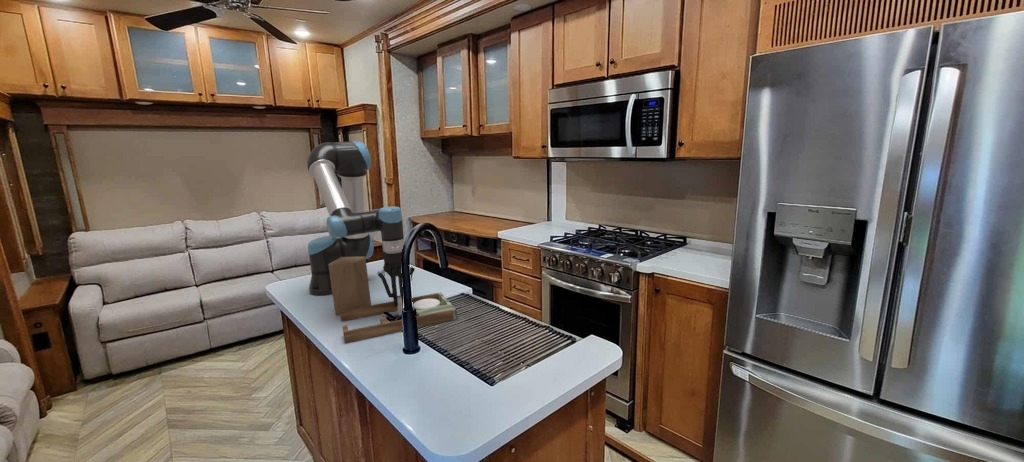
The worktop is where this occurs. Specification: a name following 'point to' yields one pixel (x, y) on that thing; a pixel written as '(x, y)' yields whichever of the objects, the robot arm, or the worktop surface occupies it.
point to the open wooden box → (385, 327)
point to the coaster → (426, 304)
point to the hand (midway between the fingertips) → (400, 313)
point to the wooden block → (349, 283)
